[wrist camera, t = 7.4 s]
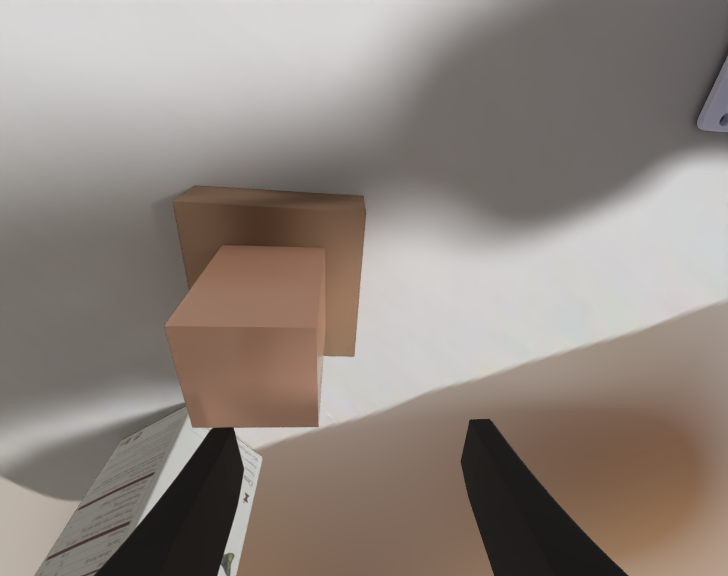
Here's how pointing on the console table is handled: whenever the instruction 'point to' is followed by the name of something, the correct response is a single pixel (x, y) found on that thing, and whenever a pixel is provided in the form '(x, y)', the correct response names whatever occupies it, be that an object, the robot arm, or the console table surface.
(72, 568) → the supplement box
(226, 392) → the cube
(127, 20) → the console table surface
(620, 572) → the robot arm
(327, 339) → the walnut block
